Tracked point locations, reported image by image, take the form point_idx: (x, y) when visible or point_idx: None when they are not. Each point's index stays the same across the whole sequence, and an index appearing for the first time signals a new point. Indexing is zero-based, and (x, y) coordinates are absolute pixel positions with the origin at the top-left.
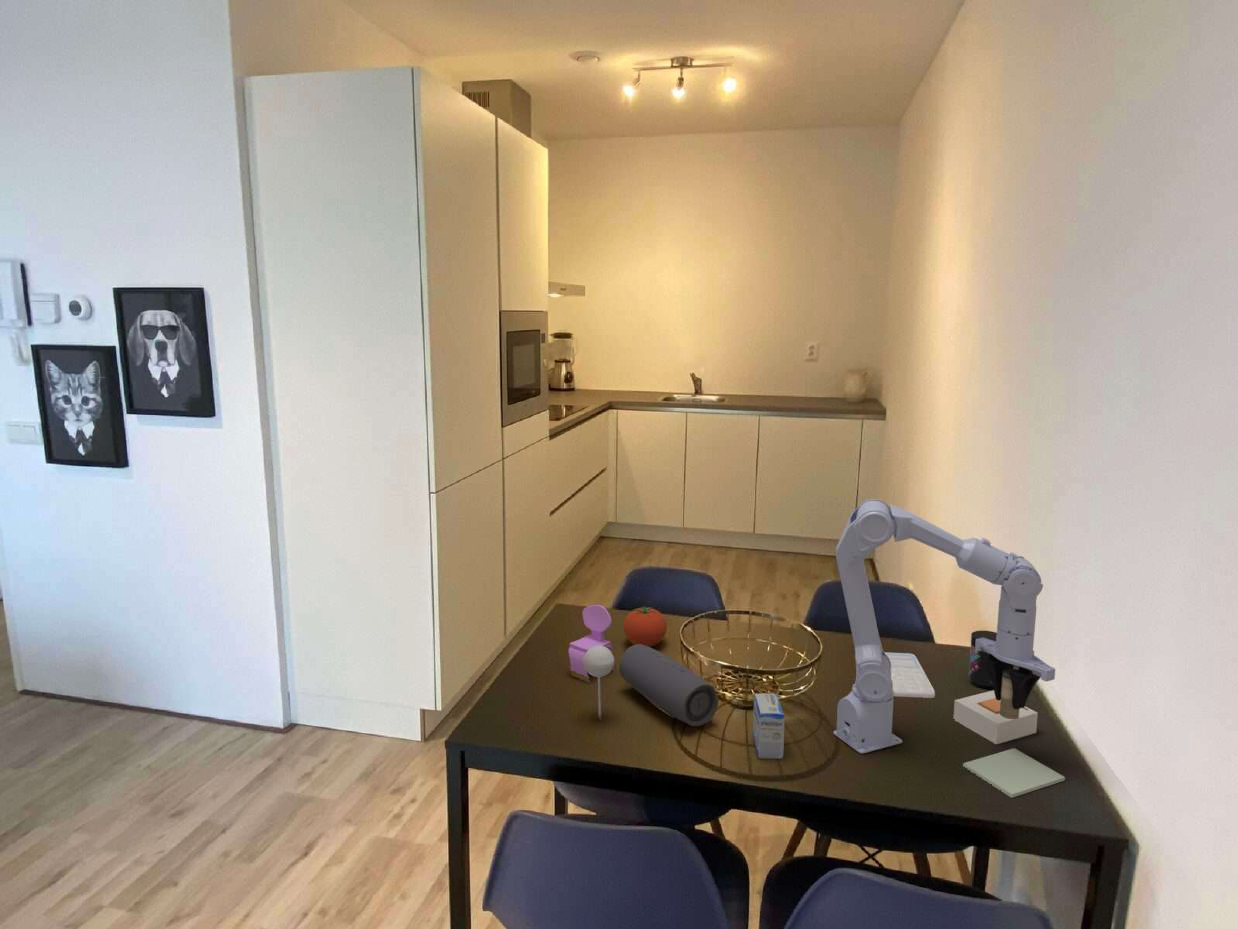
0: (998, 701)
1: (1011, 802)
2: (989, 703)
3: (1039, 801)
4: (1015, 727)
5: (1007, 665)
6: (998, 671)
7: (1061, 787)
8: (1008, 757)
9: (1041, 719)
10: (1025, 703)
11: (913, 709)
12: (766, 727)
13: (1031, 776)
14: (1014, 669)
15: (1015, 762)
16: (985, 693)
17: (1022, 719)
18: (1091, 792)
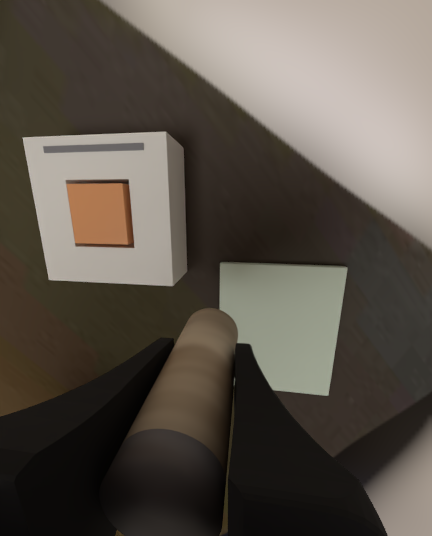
0: (84, 190)
1: (333, 399)
2: (87, 224)
3: (359, 362)
4: (177, 220)
5: (77, 498)
6: (108, 523)
7: (354, 291)
8: (240, 302)
9: (138, 70)
10: (252, 351)
11: (33, 302)
12: None
13: (308, 321)
14: (129, 469)
15: (259, 306)
16: (34, 176)
17: (171, 196)
18: (401, 255)
